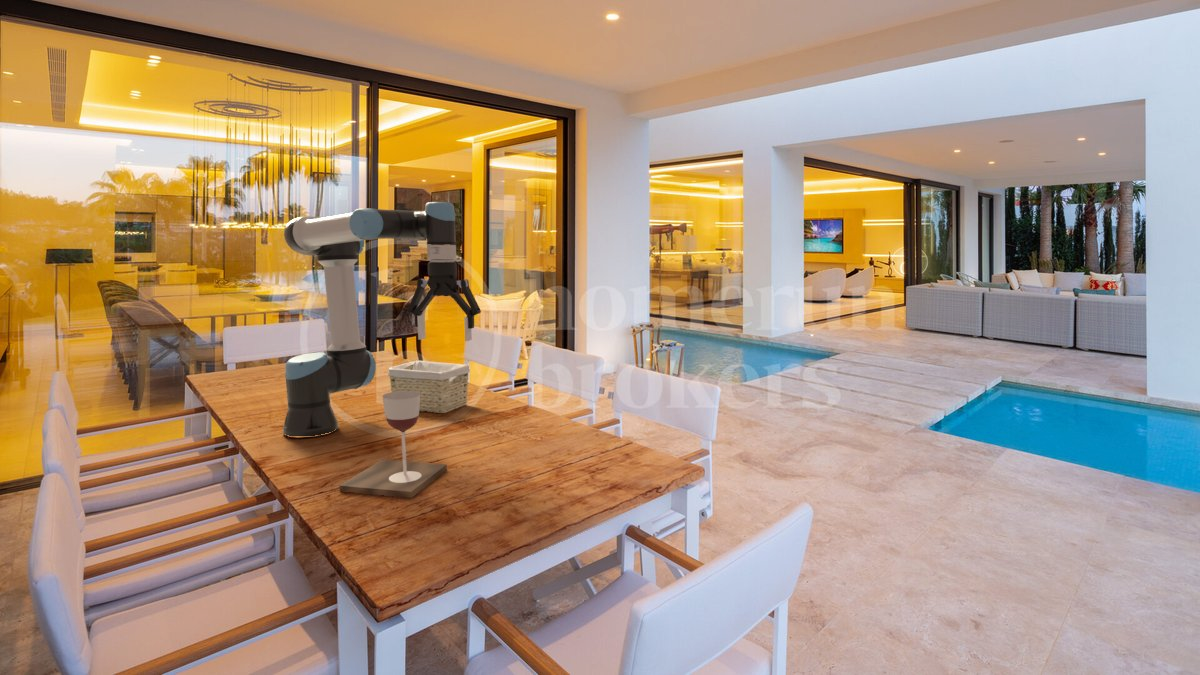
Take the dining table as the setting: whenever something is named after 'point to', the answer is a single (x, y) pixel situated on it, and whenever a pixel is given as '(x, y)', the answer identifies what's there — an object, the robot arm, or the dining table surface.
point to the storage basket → (432, 384)
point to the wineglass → (402, 424)
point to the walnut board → (379, 483)
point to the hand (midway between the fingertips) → (445, 339)
